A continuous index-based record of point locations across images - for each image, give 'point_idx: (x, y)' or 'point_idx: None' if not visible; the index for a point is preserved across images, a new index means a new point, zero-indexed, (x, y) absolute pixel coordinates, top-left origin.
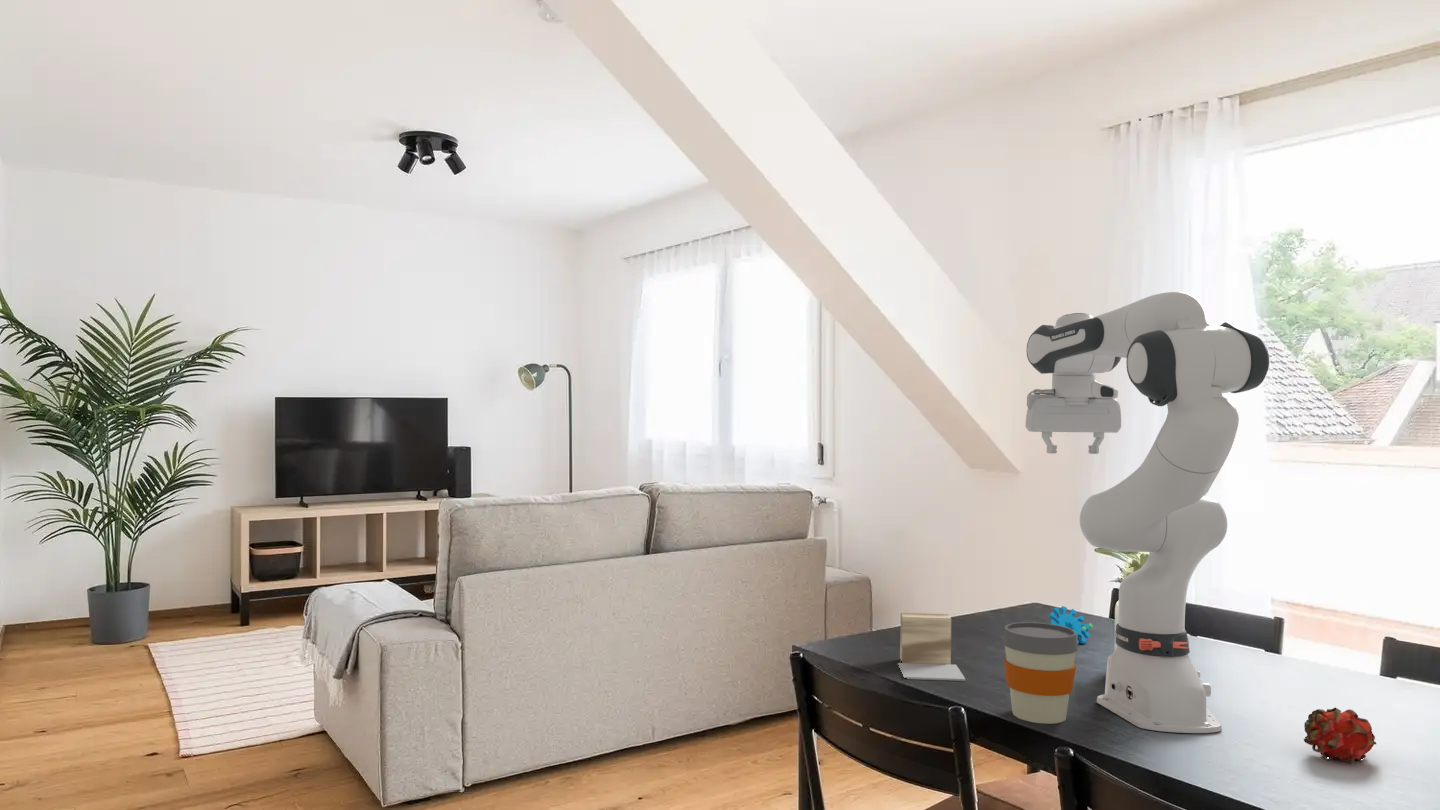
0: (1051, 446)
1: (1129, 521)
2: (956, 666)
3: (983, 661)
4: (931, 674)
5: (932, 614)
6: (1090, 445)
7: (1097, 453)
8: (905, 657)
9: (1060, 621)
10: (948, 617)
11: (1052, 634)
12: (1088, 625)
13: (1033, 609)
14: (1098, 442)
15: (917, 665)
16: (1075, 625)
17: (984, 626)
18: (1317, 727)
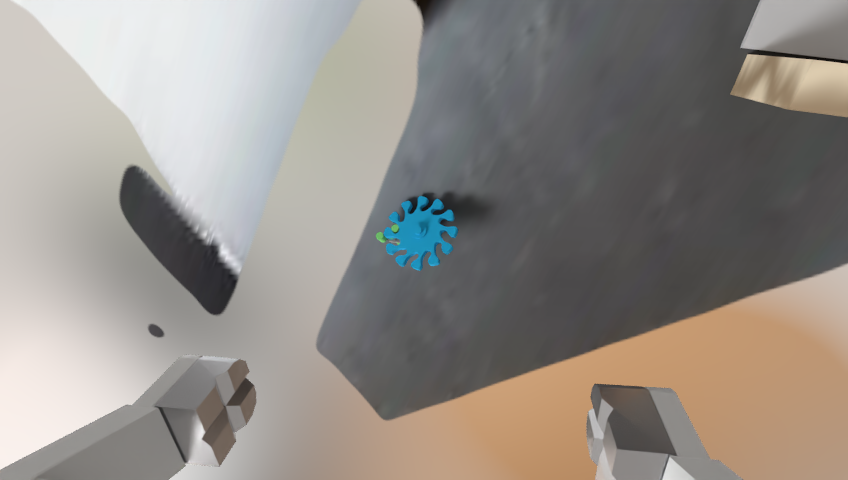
0: (687, 442)
1: None
2: (750, 32)
3: (655, 89)
4: None
5: (835, 105)
6: (204, 451)
7: (195, 355)
8: None
9: (436, 234)
10: (814, 69)
11: None
12: (384, 234)
13: (397, 398)
14: (108, 432)
15: (835, 40)
16: (409, 230)
17: (524, 317)
18: None
